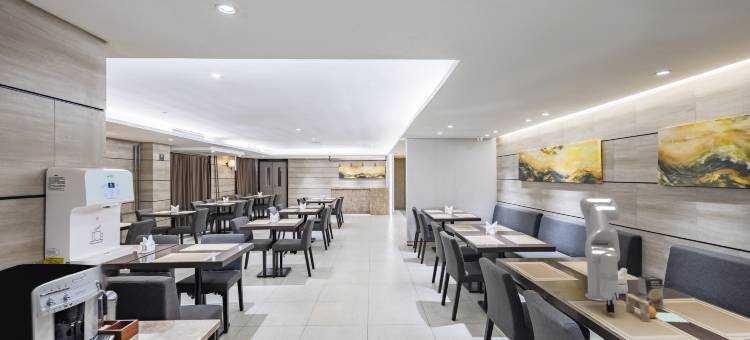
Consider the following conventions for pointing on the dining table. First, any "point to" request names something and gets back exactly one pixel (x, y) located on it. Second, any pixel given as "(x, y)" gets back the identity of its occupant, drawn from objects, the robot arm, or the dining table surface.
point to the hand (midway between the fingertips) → (610, 312)
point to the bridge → (643, 306)
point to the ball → (652, 312)
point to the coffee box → (651, 291)
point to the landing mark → (669, 317)
